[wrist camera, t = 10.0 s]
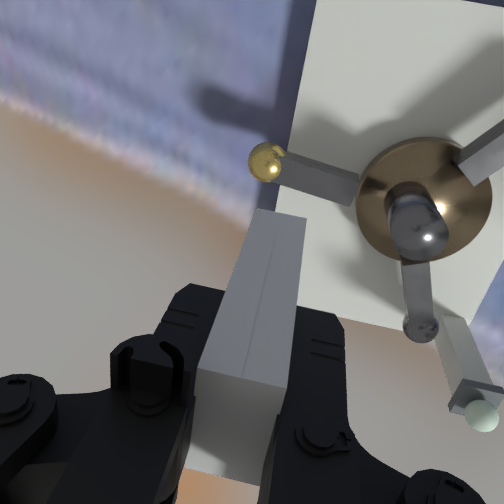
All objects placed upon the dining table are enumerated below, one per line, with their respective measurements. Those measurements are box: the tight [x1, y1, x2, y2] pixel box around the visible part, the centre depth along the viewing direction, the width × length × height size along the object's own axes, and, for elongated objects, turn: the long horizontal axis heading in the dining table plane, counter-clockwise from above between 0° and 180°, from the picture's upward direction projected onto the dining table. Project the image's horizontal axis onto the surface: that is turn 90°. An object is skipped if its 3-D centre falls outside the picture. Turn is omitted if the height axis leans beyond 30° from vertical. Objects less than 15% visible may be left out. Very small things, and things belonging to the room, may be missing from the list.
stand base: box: [275, 0, 504, 432], centre depth 25 cm, size 22×16×11 cm
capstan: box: [248, 119, 504, 343], centre depth 26 cm, size 16×18×6 cm
